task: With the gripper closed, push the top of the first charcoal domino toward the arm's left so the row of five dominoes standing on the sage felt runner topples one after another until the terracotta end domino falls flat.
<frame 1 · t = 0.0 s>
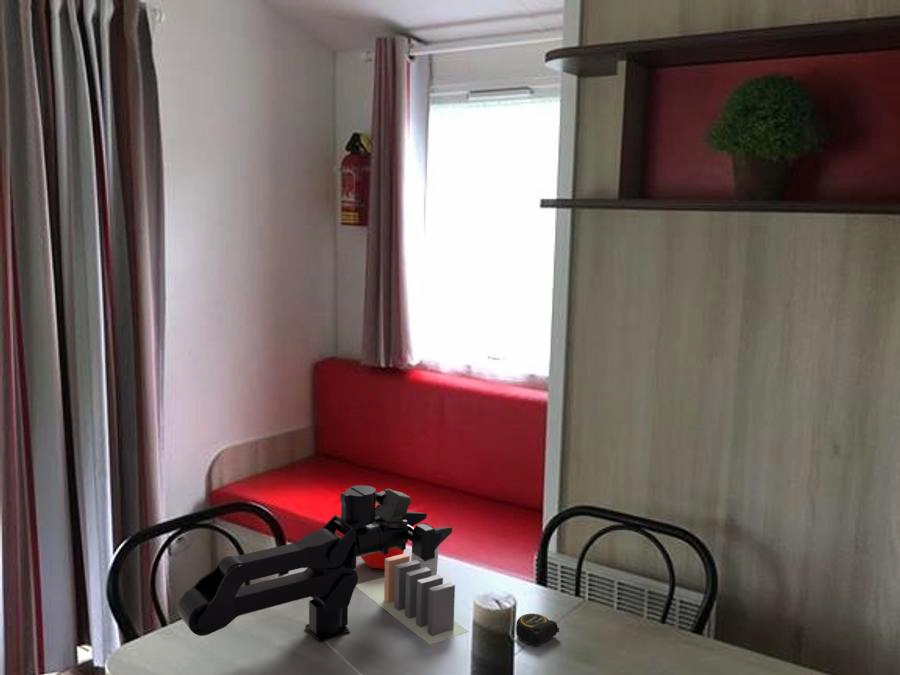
hand: (438, 522, 166), 17 cm above the table, fingers open, 9 cm apart
domino 5: (396, 598, 167), resting on runner
runner: (408, 607, 163), on the table
domino 1: (440, 631, 154), resting on runner
domino 2: (428, 622, 157), resting on runner
supplement box: (423, 586, 173), on the table, touching runner
tape measure: (537, 640, 153), on the table
domino 3: (417, 614, 161), resting on runner
tomato: (381, 566, 183), on the table
domino 4: (406, 606, 164), resting on runner
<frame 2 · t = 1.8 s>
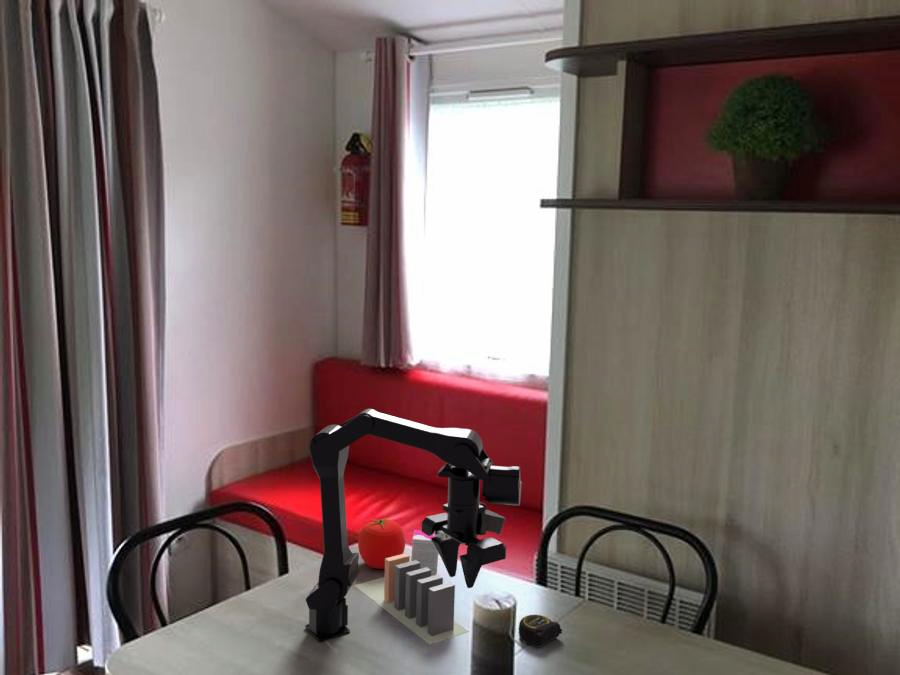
hand: (461, 581, 148), 13 cm above the table, fingers open, 5 cm apart
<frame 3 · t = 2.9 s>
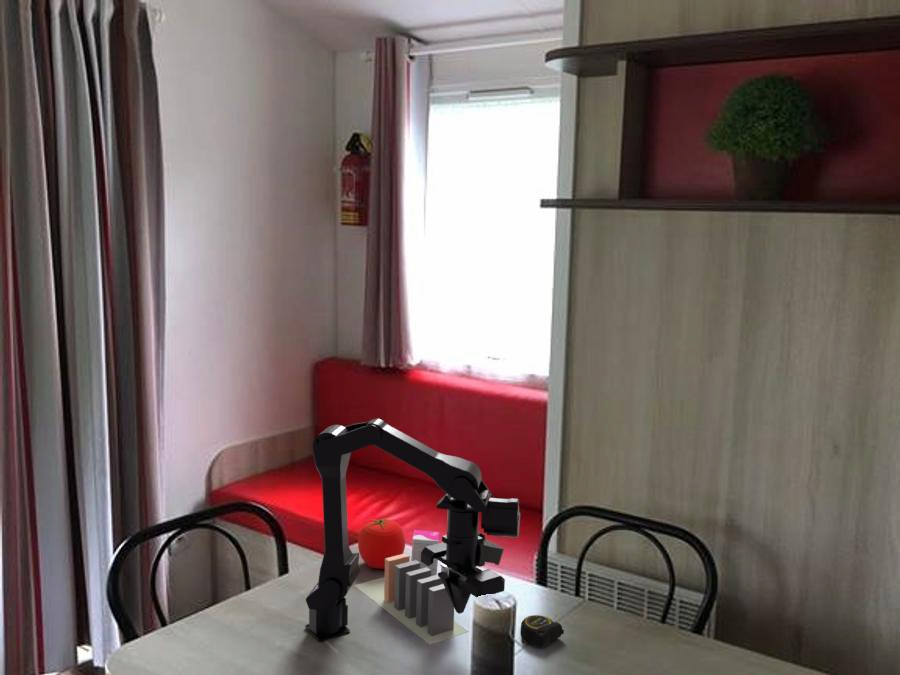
hand: (459, 612, 149), 7 cm above the table, fingers closed
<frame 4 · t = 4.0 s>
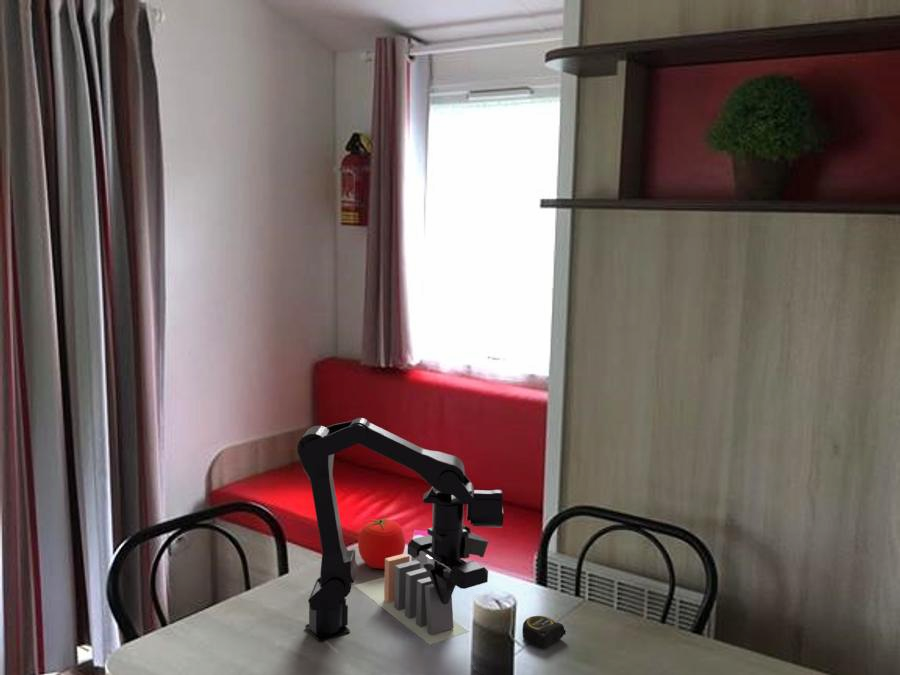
hand: (445, 603, 152), 6 cm above the table, fingers closed
domino 1: (440, 630, 154), resting on runner, tilted 8°
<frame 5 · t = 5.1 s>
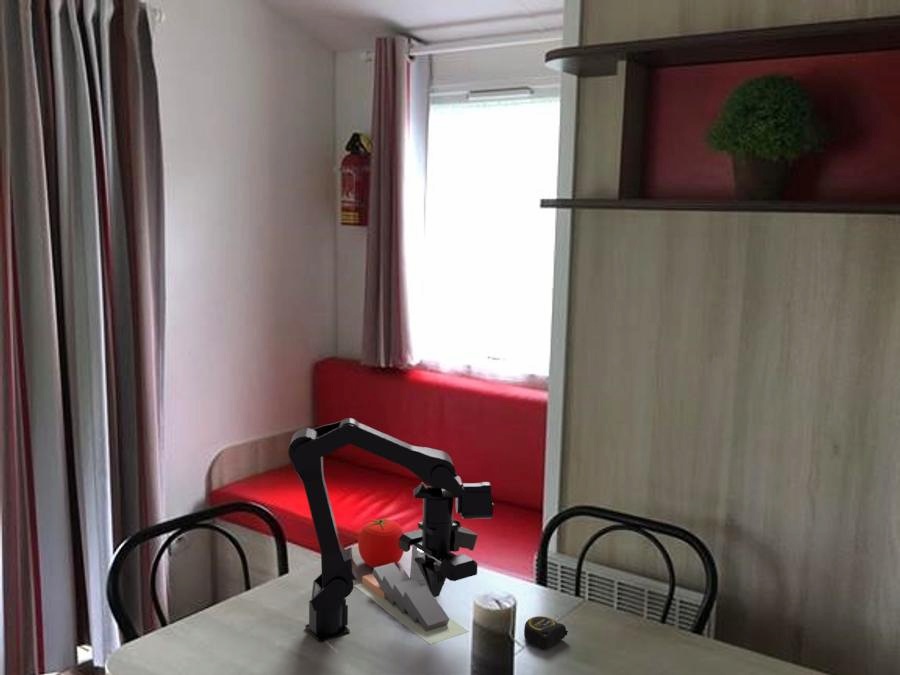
hand: (435, 596, 155), 6 cm above the table, fingers closed
domino 5: (394, 593, 168), point 1 cm above the table, tilted 90°, touching domino 4, runner
domino 1: (437, 625, 155), point 1 cm above the table, tilted 67°, touching domino 2
domino 2: (426, 616, 158), point 1 cm above the table, tilted 67°, touching domino 1, domino 3, runner
domino 3: (414, 608, 162), point 1 cm above the table, tilted 65°, touching domino 2, domino 4, runner
domino 4: (403, 599, 165), point 1 cm above the table, tilted 65°, touching domino 3, domino 5
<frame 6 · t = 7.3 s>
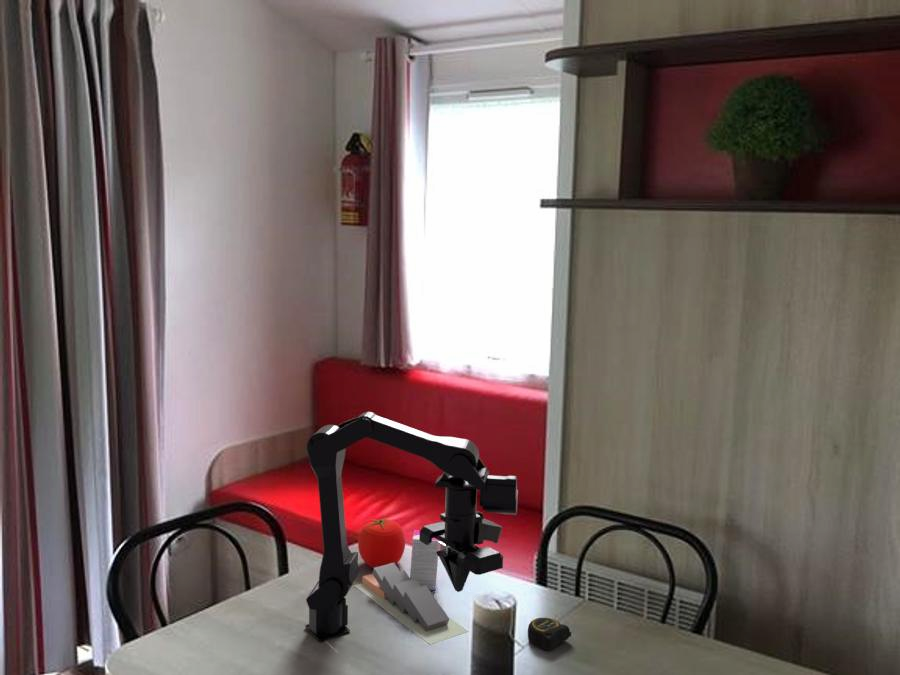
hand: (458, 590, 149), 10 cm above the table, fingers closed
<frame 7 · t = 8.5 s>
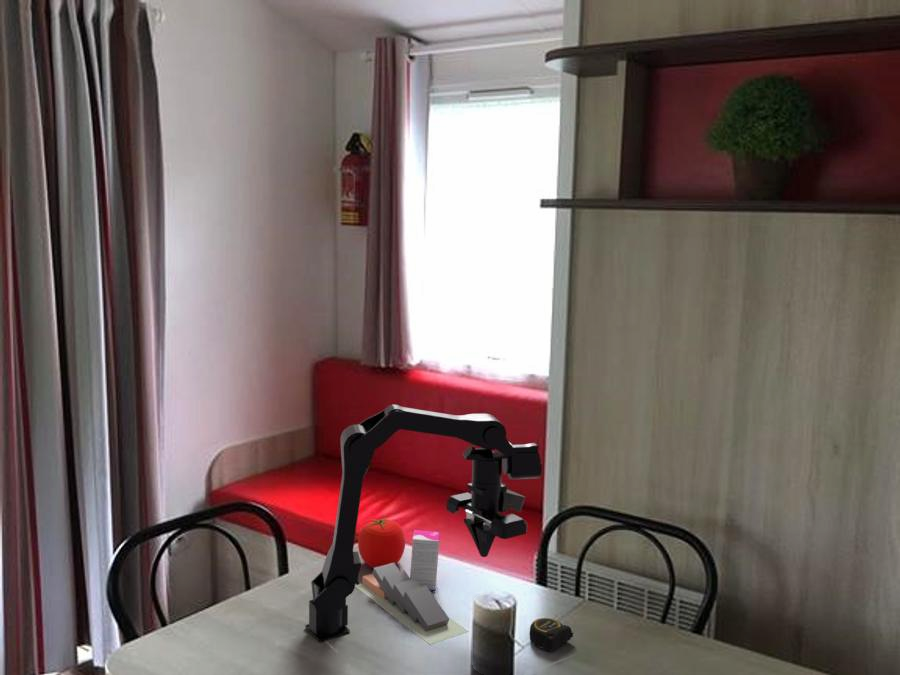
hand: (484, 556, 158), 13 cm above the table, fingers closed
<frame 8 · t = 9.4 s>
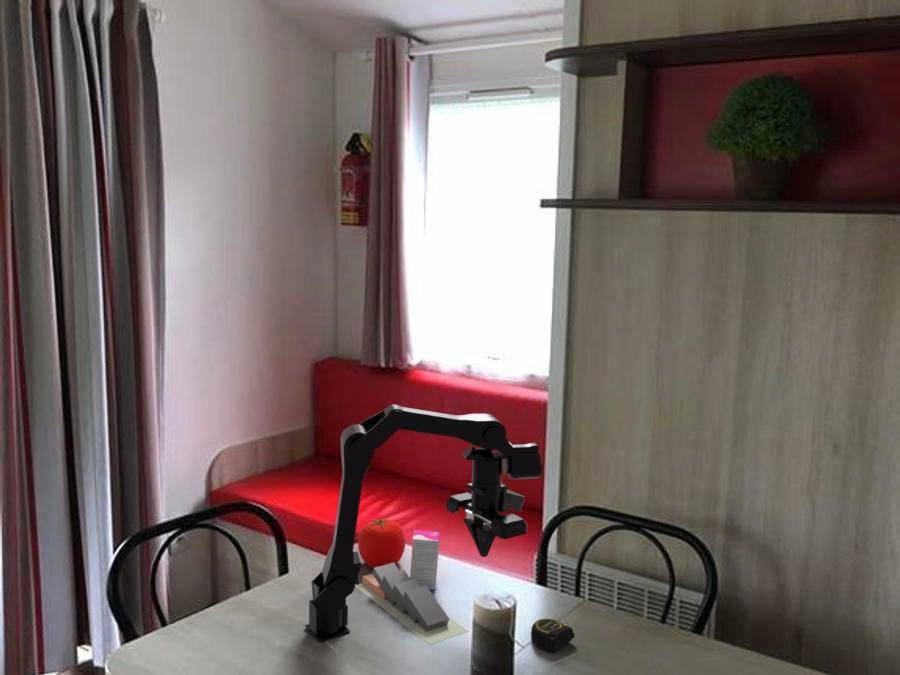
hand: (484, 556, 158), 13 cm above the table, fingers closed
at the end: domino 5 tilted 90°; domino 1 tilted 67° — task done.
